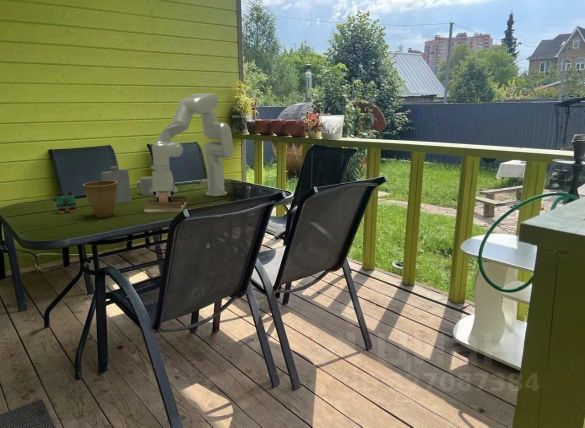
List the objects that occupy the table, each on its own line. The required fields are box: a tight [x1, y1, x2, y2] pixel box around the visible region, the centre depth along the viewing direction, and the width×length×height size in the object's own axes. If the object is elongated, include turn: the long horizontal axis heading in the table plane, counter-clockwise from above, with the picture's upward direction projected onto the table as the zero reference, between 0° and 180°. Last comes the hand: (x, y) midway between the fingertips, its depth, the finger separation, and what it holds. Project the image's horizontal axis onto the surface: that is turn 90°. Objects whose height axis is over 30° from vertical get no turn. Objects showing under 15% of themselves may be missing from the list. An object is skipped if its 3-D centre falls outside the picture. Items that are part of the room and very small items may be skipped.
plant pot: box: [82, 180, 117, 218], centre depth 209 cm, size 15×15×16 cm
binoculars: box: [56, 190, 77, 214], centre depth 220 cm, size 9×11×10 cm
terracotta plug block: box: [158, 191, 168, 202], centre depth 221 cm, size 4×4×7 cm
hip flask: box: [100, 165, 132, 205], centre depth 238 cm, size 16×4×20 cm, turn 146°
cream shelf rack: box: [143, 195, 188, 213], centre depth 226 cm, size 18×18×4 cm
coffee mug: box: [135, 175, 155, 196], centre depth 264 cm, size 13×10×10 cm
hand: (164, 203), depth 222 cm, fingers closed on terracotta plug block, 4 cm apart
